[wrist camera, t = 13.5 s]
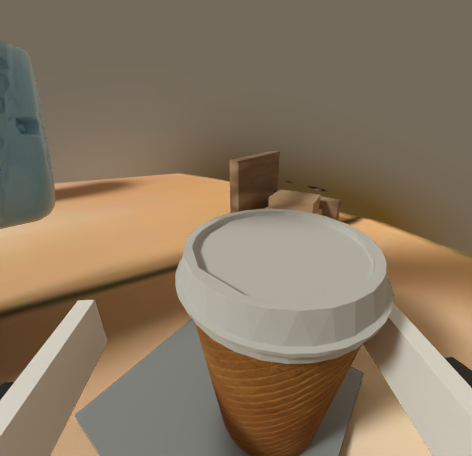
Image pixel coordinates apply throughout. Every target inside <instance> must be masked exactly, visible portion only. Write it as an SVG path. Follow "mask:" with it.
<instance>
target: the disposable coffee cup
mask: <svg viewBox="0 0 472 456" xmlns="http://www.w3.org/2000/svg"><path fill="white" fill-rule="evenodd" d="M175 287H176V291H177V295H178V298H179V300H180V302H181V303H182V305H183V306H184V308H185V310H186V311H187V313H188V315H189V316H190V317H191V318H192V319H193V320H194V322H195V325H196V328H197V331H198V335H199V338H200V342H201V345H202V348H203V352H204V356H205V359H206V362H207V367H208V370H209V373H210V377H211V380H212V384H213V388H214V391H215V395H216V397H217V402H218V404H219V408H220V411H221V415H222V419H223V422H224V425H225V428H226V430H227V431H228V433H229V435H230V437H231V438H232V440H233V441H234V442H235V443H236V445H237V446H238V447H239V448H240V449H242V450H243V451H244V452H245V453H246V454H248V455H250V456H298V455H300V454H301V453H302V452H303V451H304V450H305V449H306V448H307V447H308V446H309V445H310V443H311V441H312V440H313V438H314V436H315V434H316V431H317V430H318V428H319V426H320V424H321V422H322V420H323V418H324V416H325V414H326V412H327V410H328V408H329V406H330V405H331V403H332V401H333V399H334V397H335V395H336V393H337V391H338V389H339V387H340V385H341V383H342V381H343V379H344V377H345V376H346V374H347V371H348V370H349V368H350V366H351V364H352V362H353V360H354V358H355V356H356V354H357V352H358V350H359V349H360V347H361V345H362V344H363V343H364V342H365V341H367V340H368V339H370V338H371V337H373V336H375V334H376V333H377V332H378V331H379V330H380V329H381V328H382V326H383V325H384V324H385V323H386V322H387V320H388V318H389V315H390V313H391V311H392V305H393V298H394V295H393V291H392V287H391V283H390V281H389V279H388V277H387V262H386V259H385V257H384V254H383V252H382V250H381V249H380V248H379V246H378V245H377V244H376V243H375V242H374V241H373V240H372V239H371V238H370V237H368V236H367V235H366V234H364V233H363V232H361V231H360V230H358V229H356V228H354V227H352V226H350V225H348V224H346V223H343V222H340V221H338V220H335V219H332V218H329V217H327V216H323V215H319V214H315V213H310V212H304V211H298V210H287V209H255V210H245V211H239V212H233V213H229V214H226V215H223V216H220V217H216V218H214V219H212V220H210V221H208V222H206V223H204V224H202V225H201V226H199V227H198V228H197V229H196V230H195V231H194V232H193V233H192V234H191V235H190V236H189V237H188V239H187V241H186V243H185V246H184V250H183V257H182V259H181V260H180V262H179V265H178V268H177V270H176V273H175Z"/></svg>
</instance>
